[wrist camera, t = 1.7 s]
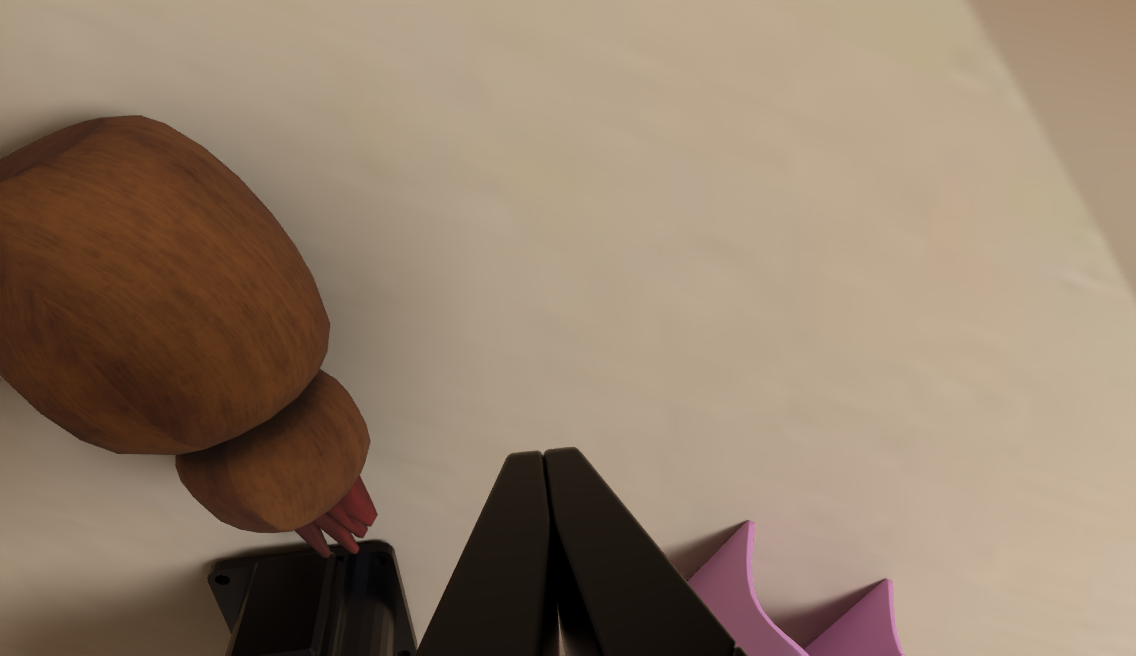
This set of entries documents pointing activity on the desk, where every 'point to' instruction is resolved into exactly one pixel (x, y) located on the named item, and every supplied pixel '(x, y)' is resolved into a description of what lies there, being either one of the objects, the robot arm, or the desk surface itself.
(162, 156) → the wooden figurine
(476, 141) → the desk surface
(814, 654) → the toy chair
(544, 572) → the robot arm
